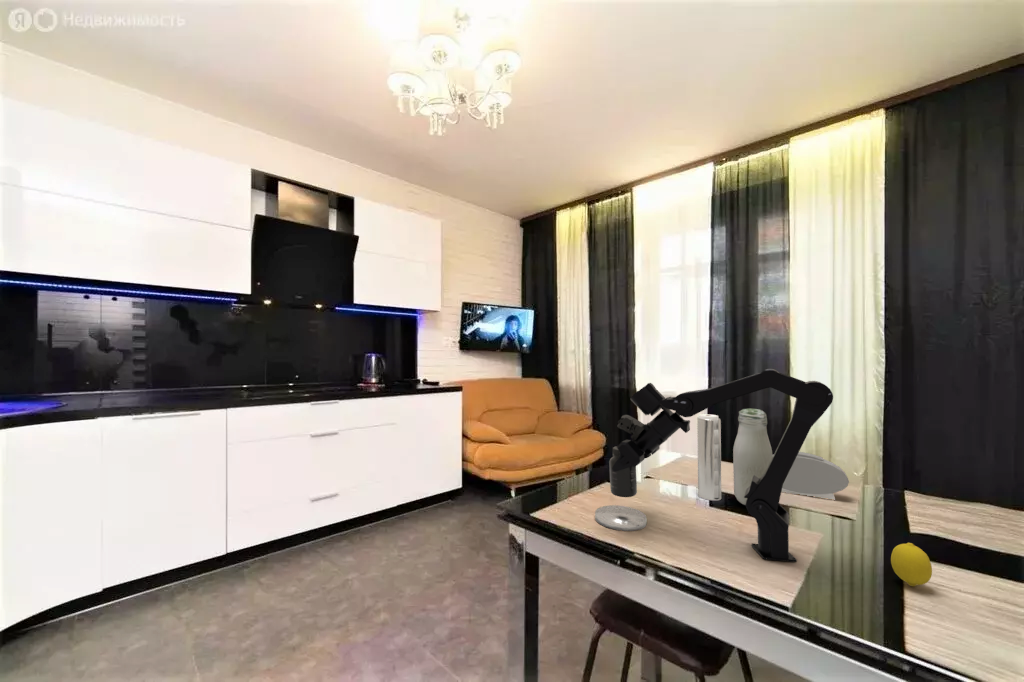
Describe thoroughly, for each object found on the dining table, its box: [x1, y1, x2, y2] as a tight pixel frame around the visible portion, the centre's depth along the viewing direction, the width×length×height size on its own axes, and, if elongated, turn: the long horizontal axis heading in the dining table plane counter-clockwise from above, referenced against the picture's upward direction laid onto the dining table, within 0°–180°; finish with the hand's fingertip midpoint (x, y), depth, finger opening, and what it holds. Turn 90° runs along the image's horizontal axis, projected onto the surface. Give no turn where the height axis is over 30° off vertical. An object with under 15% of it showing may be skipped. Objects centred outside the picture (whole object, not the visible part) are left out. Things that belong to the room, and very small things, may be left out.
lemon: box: [890, 542, 933, 587], centre depth 77 cm, size 6×6×8 cm
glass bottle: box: [732, 407, 773, 506], centre depth 117 cm, size 10×10×28 cm
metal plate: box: [594, 504, 648, 532], centre depth 106 cm, size 13×13×2 cm
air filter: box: [696, 413, 722, 501], centre depth 125 cm, size 6×6×25 cm
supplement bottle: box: [608, 445, 638, 498], centre depth 108 cm, size 7×7×12 cm
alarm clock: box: [772, 451, 850, 501], centre depth 129 cm, size 23×6×13 cm, turn 57°
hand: (617, 467), depth 108 cm, fingers closed on supplement bottle, 7 cm apart
